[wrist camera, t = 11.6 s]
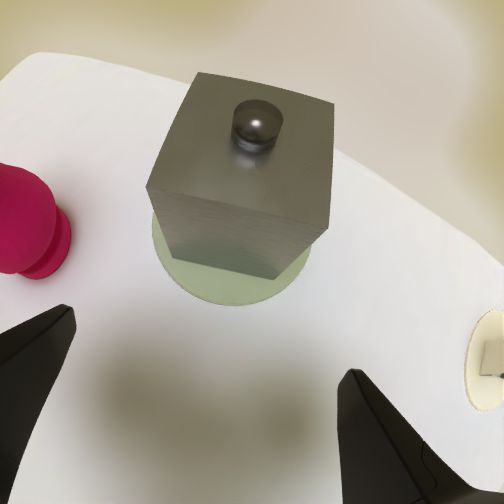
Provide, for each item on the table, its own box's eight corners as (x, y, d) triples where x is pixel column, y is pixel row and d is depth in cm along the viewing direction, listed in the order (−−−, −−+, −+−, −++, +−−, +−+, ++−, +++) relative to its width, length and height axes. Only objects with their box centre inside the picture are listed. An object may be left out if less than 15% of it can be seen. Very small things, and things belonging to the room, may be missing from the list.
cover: (273, 280, 21) (340, 215, 10) (172, 258, 20) (140, 170, 9) (287, 191, 23) (342, 88, 12) (198, 171, 22) (198, 54, 12)
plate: (166, 320, 19) (165, 319, 19) (146, 170, 22) (145, 166, 22) (328, 285, 22) (331, 284, 21) (286, 152, 25) (288, 148, 24)
